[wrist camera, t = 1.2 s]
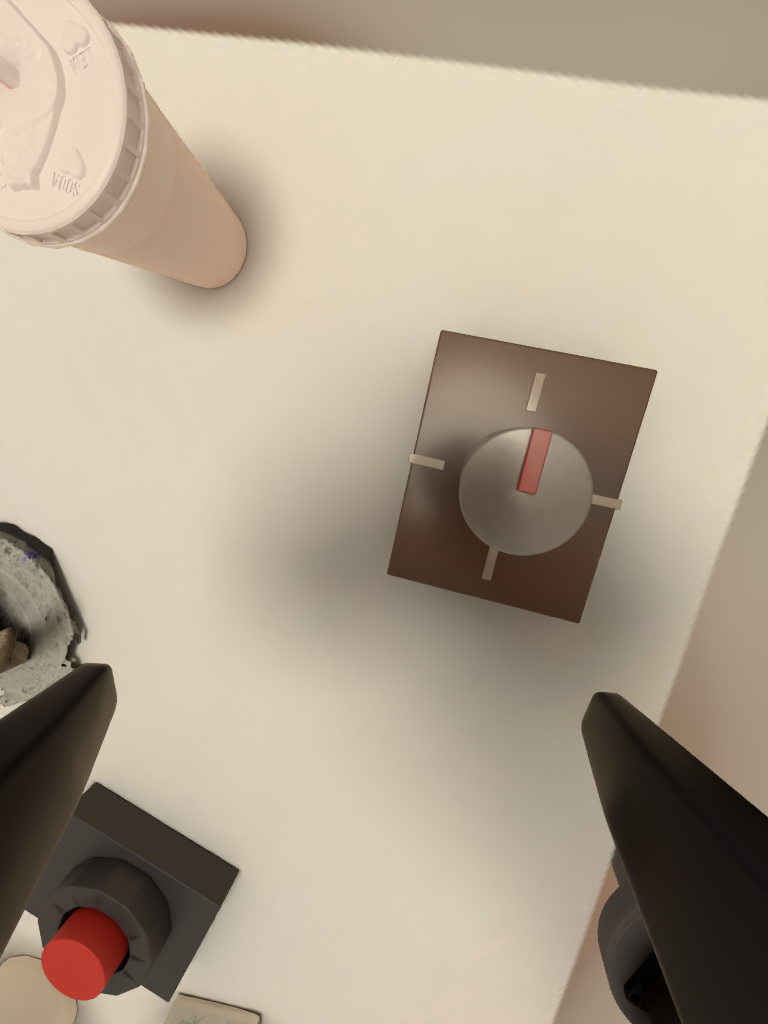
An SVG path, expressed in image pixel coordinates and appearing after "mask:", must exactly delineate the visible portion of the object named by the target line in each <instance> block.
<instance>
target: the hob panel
mask: <svg viewBox="0 0 768 1024" xmlns="http://www.w3.org/2000/svg"><path fill="white" fill-rule="evenodd" d="M656 375H657V370H653V369H648V368H642V367H637V366H632V365H626V364H621V363H616V362H610V361H605V360H600V359H594V358H589V357H584V356H578V355H573V354H567V353H562V352H557V351H551V350H546V349H541V348H535V347H530V346H525V345H519V344H514V343H509V342H503V341H498V340H493V339H487V338H482V337H476V336H471V335H466V334H460V333H455V332H450V331H444V330H442V331H441V332H440V336H439V341H438V345H437V350H436V354H435V359H434V363H433V368H432V372H431V377H430V381H429V386H428V390H427V395H426V400H425V404H424V409H423V413H422V418H421V422H420V427H419V431H418V436H417V440H416V445H415V449H414V454H412V453H411V454H410V458H409V463H411V467H410V472H409V476H408V481H407V485H406V490H405V495H404V499H403V504H402V508H401V513H400V517H399V522H398V526H397V531H396V535H395V540H394V544H393V549H392V553H391V558H390V562H389V567H388V571H387V574H388V575H392V576H396V577H400V578H404V579H407V580H411V581H415V582H419V583H423V584H427V585H431V586H435V587H438V588H442V589H446V590H450V591H454V592H458V593H462V594H466V595H470V596H473V597H477V598H481V599H485V600H489V601H493V602H497V603H501V604H505V605H508V606H512V607H516V608H520V609H524V610H528V611H532V612H536V613H540V614H543V615H547V616H551V617H555V618H559V619H563V620H567V621H571V622H575V623H579V622H580V620H581V616H582V613H583V610H584V607H585V603H586V600H587V597H588V594H589V591H590V587H591V584H592V581H593V578H594V575H595V571H596V568H597V565H598V562H599V558H600V555H601V552H602V549H603V546H604V542H605V539H606V536H607V533H608V529H609V526H610V523H611V520H612V517H613V513H614V510H615V509H618V510H620V507H621V504H622V500H618V497H619V494H620V491H621V488H622V484H623V481H624V478H625V475H626V472H627V468H628V465H629V462H630V459H631V456H632V452H633V449H634V446H635V443H636V439H637V436H638V433H639V430H640V427H641V423H642V420H643V417H644V414H645V411H646V407H647V404H648V401H649V398H650V394H651V391H652V388H653V385H654V382H655V378H656ZM519 427H537V428H543V429H546V430H550V431H553V432H555V433H557V434H559V435H561V436H563V437H564V438H566V439H567V440H569V441H570V442H571V443H572V444H574V446H575V447H576V448H577V449H578V450H579V451H580V452H581V454H582V455H583V457H584V458H585V460H586V462H587V464H588V466H589V469H590V472H591V476H592V481H593V498H592V503H591V508H590V510H589V513H588V516H587V517H586V519H585V521H584V523H583V524H582V526H581V527H580V529H579V530H578V531H577V532H576V533H575V534H574V535H573V536H572V537H571V538H570V539H569V540H568V541H566V542H565V543H564V544H562V545H560V546H559V547H557V548H555V549H553V550H551V551H548V552H545V553H541V554H536V555H527V556H523V555H513V554H507V553H504V552H501V551H498V550H496V549H494V548H492V547H490V546H489V545H487V544H485V543H484V542H483V541H482V540H480V539H479V538H478V537H477V536H476V535H475V534H474V533H473V531H472V530H471V529H470V527H469V526H468V524H467V522H466V520H465V518H464V516H463V513H462V511H461V506H460V501H459V484H460V475H461V469H462V466H463V463H464V461H465V459H466V457H467V455H468V453H469V452H470V450H471V449H472V448H473V447H474V446H475V445H476V444H477V443H478V442H479V441H480V440H482V439H483V438H484V437H486V436H488V435H490V434H492V433H494V432H497V431H500V430H504V429H511V428H519Z"/></svg>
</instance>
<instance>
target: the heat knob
mask: <svg viewBox="0 0 768 1024" xmlns="http://www.w3.org/2000/svg"><path fill="white" fill-rule="evenodd" d="M592 498H593V481H592V476H591V472H590V469H589V466H588V464H587V462H586V460H585V458H584V457H583V455H582V454H581V452H580V451H579V450H578V449H577V448H576V447H575V446H574V444H572V443H571V442H570V441H569V440H567V439H566V438H564V437H563V436H561V435H559V434H557V433H555V432H553V431H550V430H546V429H543V428H537V427H519V428H511V429H504V430H500V431H497V432H494V433H492V434H490V435H488V436H486V437H484V438H483V439H482V440H480V441H479V442H478V443H477V444H476V445H475V446H474V447H473V448H472V449H471V450H470V452H469V453H468V455H467V457H466V459H465V461H464V463H463V466H462V469H461V475H460V484H459V501H460V506H461V511H462V513H463V516H464V518H465V520H466V522H467V524H468V526H469V527H470V529H471V530H472V531H473V533H474V534H475V535H476V536H477V537H478V538H479V539H480V540H482V541H483V542H484V543H485V544H487V545H489V546H490V547H492V548H494V549H496V550H498V551H501V552H504V553H507V554H513V555H523V556H527V555H536V554H541V553H545V552H548V551H551V550H553V549H555V548H557V547H559V546H560V545H562V544H564V543H565V542H566V541H568V540H569V539H570V538H571V537H572V536H573V535H574V534H575V533H576V532H577V531H578V530H579V529H580V527H581V526H582V524H583V523H584V521H585V519H586V517H587V516H588V513H589V510H590V508H591V503H592Z"/></svg>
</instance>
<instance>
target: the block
mask: <svg viewBox="0 0 768 1024" xmlns="http://www.w3.org/2000/svg"><path fill="white" fill-rule="evenodd" d="M238 872H239V870H237V869H236V868H234V867H232V866H231V865H229V864H227V863H226V862H224V861H223V860H221V859H219V858H218V857H216V856H214V855H213V854H211V853H210V852H208V851H206V850H205V849H203V848H201V847H200V846H198V845H197V844H195V843H193V842H192V841H190V840H188V839H187V838H185V837H184V836H182V835H180V834H179V833H177V832H175V831H174V830H172V829H171V828H169V827H167V826H166V825H164V824H162V823H161V822H159V821H158V820H156V819H154V818H153V817H151V816H149V815H148V814H146V813H145V812H143V811H141V810H140V809H138V808H136V807H135V806H133V805H132V804H130V803H128V802H127V801H125V800H124V799H122V798H120V797H119V796H117V795H115V794H114V793H112V792H111V791H109V790H107V789H106V788H104V787H102V786H101V785H99V784H98V783H94V784H93V785H92V786H91V787H90V788H89V789H88V790H87V791H86V792H85V793H84V794H83V795H82V796H81V798H80V800H79V803H78V805H77V807H76V809H75V811H74V813H73V815H72V817H71V819H70V821H69V823H68V825H67V827H66V829H65V831H64V833H63V835H62V837H61V839H60V841H59V843H58V845H57V847H56V849H55V851H54V853H53V855H52V857H51V859H50V861H49V863H48V864H47V866H46V868H45V870H44V872H43V874H42V876H41V878H40V880H39V882H38V884H37V886H36V888H35V890H34V892H33V894H32V896H31V898H30V900H29V902H28V904H27V906H26V908H25V910H26V911H28V912H29V913H31V914H32V915H34V916H35V917H37V918H38V925H39V930H40V935H41V941H42V946H43V948H45V946H46V945H47V944H48V943H49V941H50V940H51V939H52V938H53V936H54V935H55V934H56V933H57V932H58V930H59V929H60V928H61V927H62V925H63V924H64V923H65V922H66V921H67V919H68V918H69V917H70V916H71V914H72V913H73V912H74V911H75V910H77V909H79V908H81V907H87V908H94V909H98V910H99V911H101V912H102V913H104V914H106V915H107V916H109V917H110V918H112V919H113V920H115V921H116V922H117V924H118V925H119V926H120V928H121V929H122V931H123V932H124V934H125V935H126V936H127V938H128V944H129V947H128V951H127V954H126V956H125V957H124V959H123V960H122V962H121V963H120V965H119V966H118V968H117V969H116V971H115V973H114V974H113V976H112V977H111V979H110V980H109V982H108V983H107V985H106V986H105V988H104V989H103V991H102V992H101V993H104V994H110V995H119V994H122V993H124V992H127V991H129V990H132V989H134V988H137V987H139V986H140V985H142V986H144V987H145V988H147V989H148V990H150V991H151V992H153V993H154V994H156V995H157V996H159V997H160V998H162V999H164V1000H165V1001H167V1002H169V1001H170V999H171V997H172V996H173V994H174V992H175V990H176V988H177V986H178V984H179V983H180V981H181V979H182V977H183V975H184V973H185V972H186V970H187V968H188V966H189V964H190V962H191V961H192V959H193V957H194V955H195V953H196V951H197V950H198V948H199V946H200V944H201V942H202V940H203V939H204V937H205V935H206V933H207V931H208V929H209V928H210V926H211V924H212V922H213V920H214V918H215V916H216V915H217V913H218V911H219V909H220V907H221V905H222V903H223V902H224V900H225V898H226V896H227V894H228V892H229V890H230V888H231V886H232V884H233V882H234V880H235V878H236V876H237V874H238Z"/></svg>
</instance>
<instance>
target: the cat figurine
mask: <svg viewBox="0 0 768 1024" xmlns="http://www.w3.org/2000/svg"><path fill="white" fill-rule="evenodd" d="M50 554H51V548H49V547H48V546H46V545H45V544H44V543H43V544H42V542H41V541H40V540H39V539H38V538H36V537H33V536H29V535H27V534H26V533H24V532H20V530H19V529H17V527H16V526H15V525H11V524H5V523H2V522H0V688H1V691H5V692H6V693H5V694H4V695H3V696H1V697H0V704H2V705H3V706H4V707H5V706H10V705H14V704H17V703H19V702H24V701H28V700H30V699H31V698H33V697H34V696H36V695H37V694H39V693H40V692H42V691H43V690H45V689H46V688H47V687H49V686H50V685H52V684H53V683H55V682H56V681H58V680H59V679H61V678H62V677H64V676H65V675H67V674H68V673H70V672H71V671H73V670H74V669H76V668H71V666H70V664H71V662H70V661H67V660H66V659H65V657H66V654H67V651H68V649H67V645H69V644H70V641H71V640H73V636H74V635H73V634H74V632H75V633H76V635H77V640H76V641H77V644H80V643H81V633H80V631H78V628H77V627H76V626H75V625H76V621H75V622H74V620H71V619H70V614H69V611H68V608H67V607H68V605H67V604H65V603H64V601H63V596H62V594H61V590H59V589H60V588H57V587H56V586H55V584H56V583H55V574H54V572H53V569H52V566H51V563H50V561H49V560H48V559H49V558H50ZM61 664H66V666H67V667H62V666H61ZM20 704H21V703H20Z"/></svg>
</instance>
